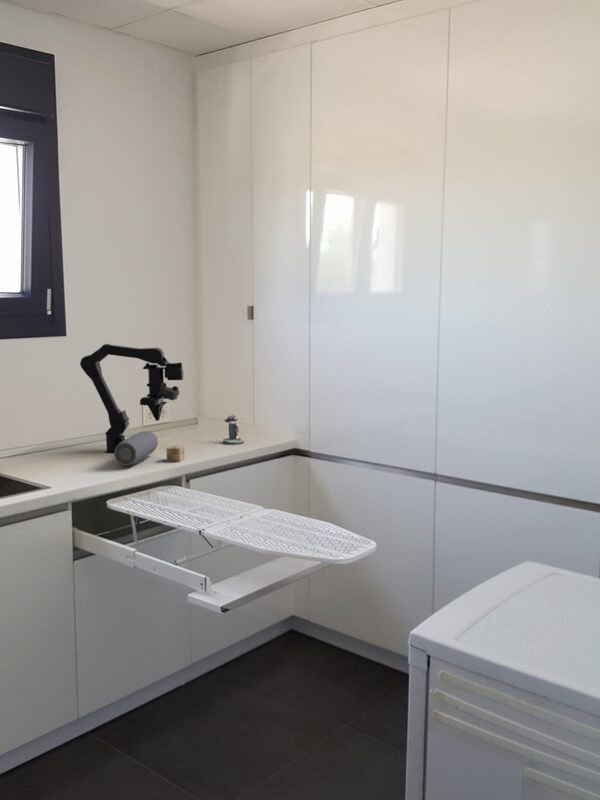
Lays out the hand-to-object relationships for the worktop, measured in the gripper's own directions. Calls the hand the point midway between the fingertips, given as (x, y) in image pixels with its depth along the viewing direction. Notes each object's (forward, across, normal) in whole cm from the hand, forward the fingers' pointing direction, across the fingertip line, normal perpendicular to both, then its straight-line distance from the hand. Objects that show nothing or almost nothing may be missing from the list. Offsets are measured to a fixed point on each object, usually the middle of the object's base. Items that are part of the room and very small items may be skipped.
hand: (157, 420), depth 309 cm
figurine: (+12, +21, -24) cm, 34 cm away
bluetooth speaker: (+12, -20, 0) cm, 23 cm away
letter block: (+12, -15, -13) cm, 23 cm away
